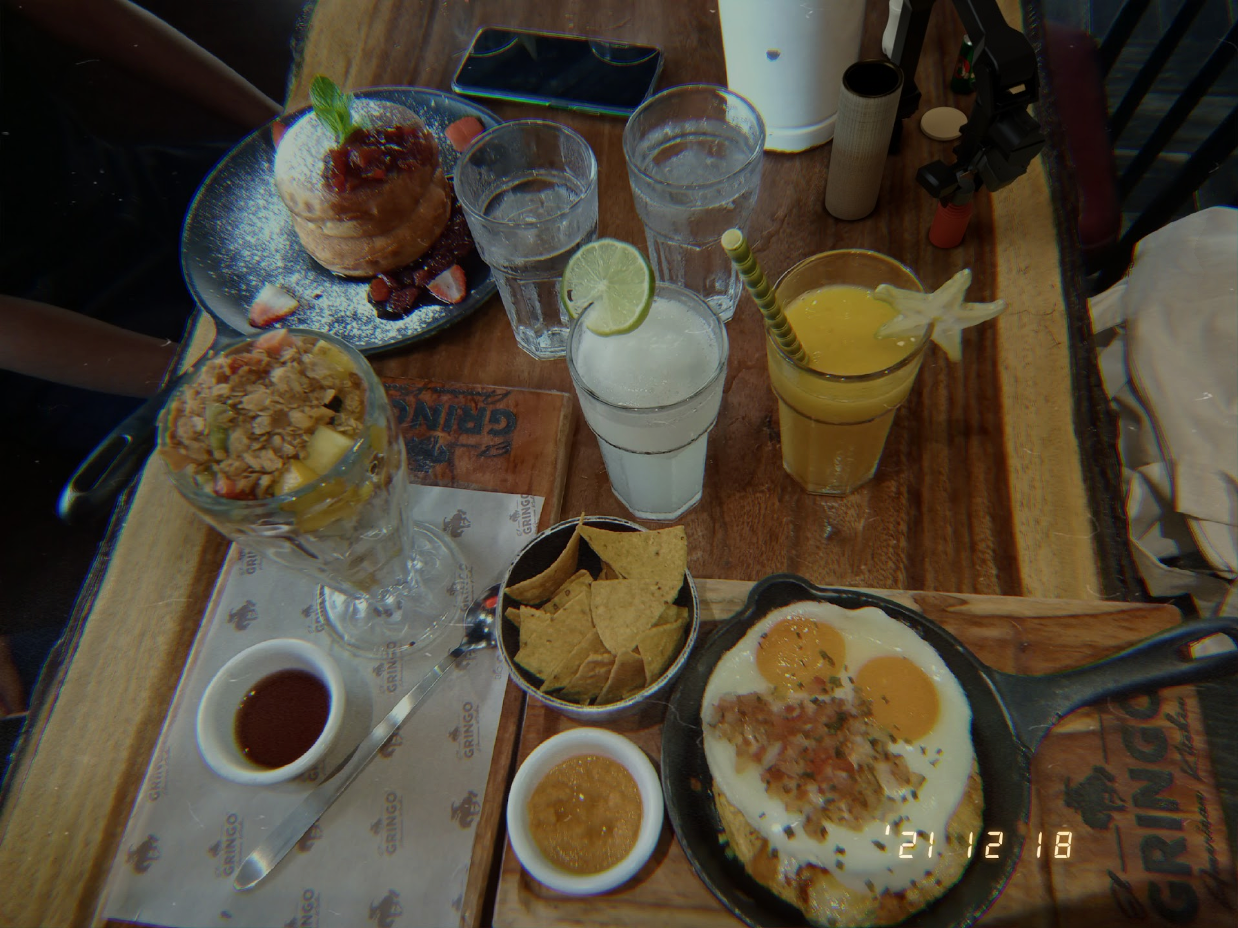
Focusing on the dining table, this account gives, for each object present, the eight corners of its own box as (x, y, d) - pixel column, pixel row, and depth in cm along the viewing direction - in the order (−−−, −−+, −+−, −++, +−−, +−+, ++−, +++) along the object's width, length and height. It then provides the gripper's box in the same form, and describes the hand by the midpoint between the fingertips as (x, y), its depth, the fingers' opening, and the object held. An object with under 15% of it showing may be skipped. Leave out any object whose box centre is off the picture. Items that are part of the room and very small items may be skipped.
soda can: (973, 78, 156) (990, 24, 145) (975, 94, 154) (993, 40, 143) (948, 80, 157) (963, 26, 146) (950, 96, 155) (966, 42, 144)
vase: (878, 186, 147) (907, 58, 122) (872, 223, 143) (900, 99, 118) (828, 182, 149) (846, 56, 124) (821, 219, 145) (838, 95, 121)
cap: (942, 195, 131) (946, 183, 129) (962, 186, 131) (966, 174, 129) (956, 209, 129) (960, 197, 127) (975, 200, 130) (980, 188, 127)
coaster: (923, 142, 150) (923, 139, 150) (918, 112, 154) (919, 108, 153) (969, 139, 149) (970, 135, 148) (963, 108, 153) (964, 105, 152)
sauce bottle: (930, 249, 138) (946, 203, 128) (926, 225, 141) (941, 178, 131) (964, 247, 137) (982, 201, 127) (959, 223, 140) (977, 176, 130)
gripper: (969, 179, 112) (943, 250, 126) (1071, 129, 114) (1034, 204, 128) (924, 138, 117) (904, 210, 131) (1022, 90, 119) (992, 166, 133)
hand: (959, 198), depth 131 cm, fingers open, 6 cm apart
